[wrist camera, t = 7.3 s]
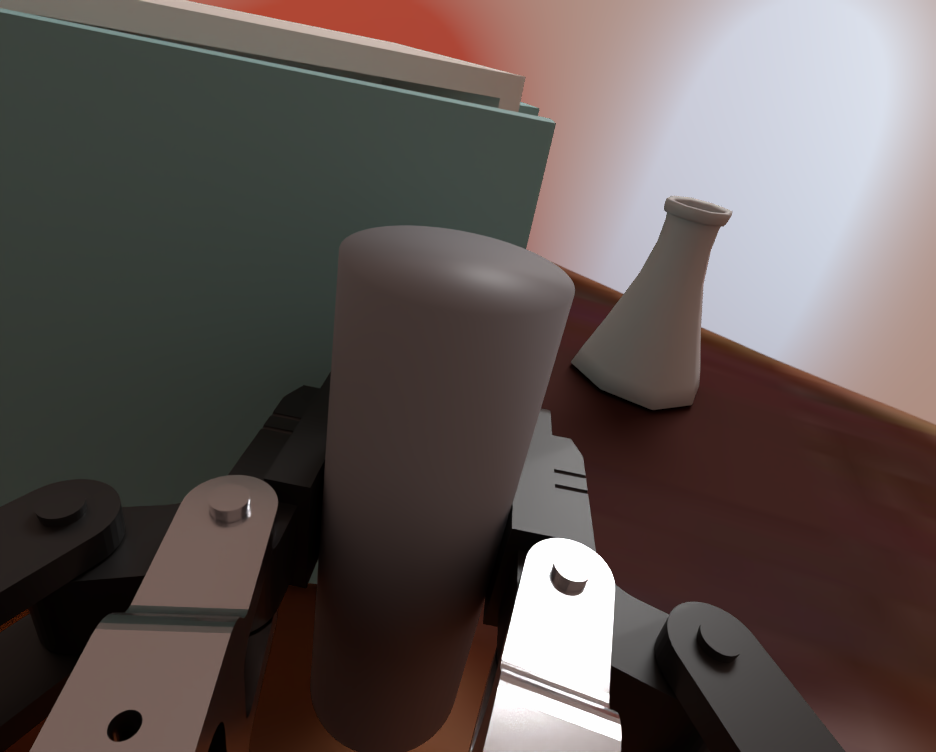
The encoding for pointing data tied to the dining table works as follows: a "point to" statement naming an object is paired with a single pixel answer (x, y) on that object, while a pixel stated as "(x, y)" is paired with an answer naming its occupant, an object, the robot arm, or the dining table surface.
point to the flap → (281, 321)
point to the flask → (659, 315)
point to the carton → (291, 46)
